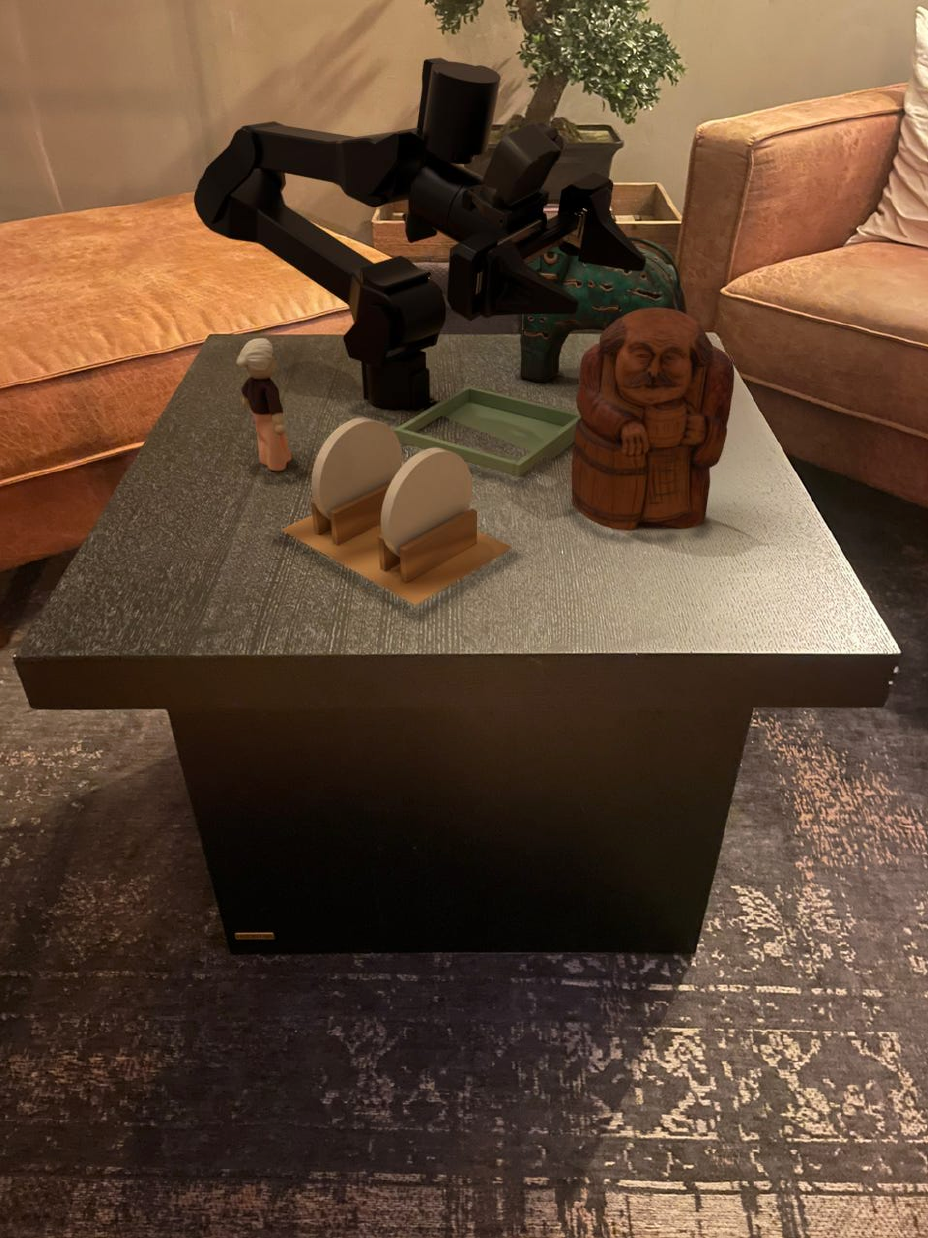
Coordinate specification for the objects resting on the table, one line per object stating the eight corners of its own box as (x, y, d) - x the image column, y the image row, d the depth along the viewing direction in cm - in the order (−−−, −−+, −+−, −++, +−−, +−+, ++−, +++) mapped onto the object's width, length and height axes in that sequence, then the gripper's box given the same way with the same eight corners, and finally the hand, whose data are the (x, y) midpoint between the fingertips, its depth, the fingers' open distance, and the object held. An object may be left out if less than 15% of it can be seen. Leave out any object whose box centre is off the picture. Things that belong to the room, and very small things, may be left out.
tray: (395, 448, 91) (394, 429, 90) (467, 403, 100) (467, 385, 98) (519, 486, 84) (519, 465, 83) (584, 434, 93) (586, 414, 92)
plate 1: (317, 539, 75) (305, 437, 70) (396, 500, 80) (392, 403, 75) (324, 543, 74) (314, 441, 69) (404, 504, 80) (400, 406, 74)
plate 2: (383, 576, 71) (376, 471, 65) (463, 532, 76) (463, 431, 71) (392, 581, 70) (386, 475, 65) (472, 536, 75) (472, 435, 70)
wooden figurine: (573, 539, 77) (589, 325, 66) (567, 502, 82) (582, 298, 71) (714, 540, 77) (754, 326, 66) (699, 503, 82) (734, 298, 71)
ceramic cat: (502, 378, 105) (506, 190, 94) (529, 361, 110) (536, 178, 98) (665, 416, 97) (693, 213, 85) (687, 395, 101) (716, 200, 90)
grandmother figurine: (316, 476, 86) (301, 343, 79) (283, 490, 84) (265, 355, 76) (266, 451, 90) (247, 323, 83) (233, 464, 88) (211, 333, 81)
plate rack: (282, 539, 77) (276, 497, 75) (378, 493, 83) (376, 453, 81) (415, 615, 68) (413, 570, 66) (512, 557, 75) (513, 514, 72)
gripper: (396, 148, 70) (555, 232, 64) (549, 83, 79) (701, 150, 73) (394, 281, 78) (534, 365, 73) (533, 208, 88) (667, 277, 82)
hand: (611, 285), depth 75 cm, fingers open, 9 cm apart
